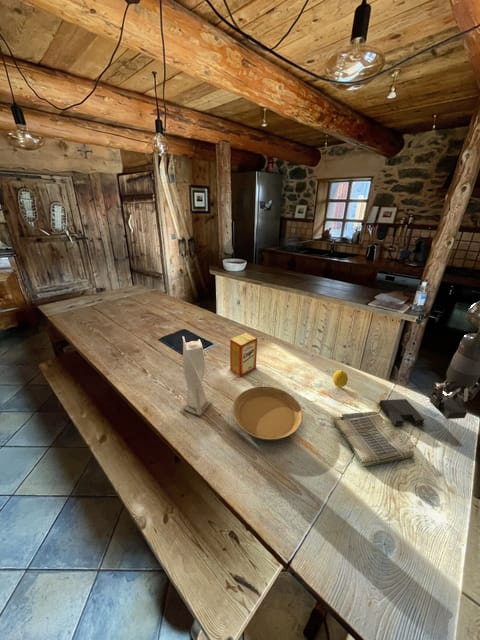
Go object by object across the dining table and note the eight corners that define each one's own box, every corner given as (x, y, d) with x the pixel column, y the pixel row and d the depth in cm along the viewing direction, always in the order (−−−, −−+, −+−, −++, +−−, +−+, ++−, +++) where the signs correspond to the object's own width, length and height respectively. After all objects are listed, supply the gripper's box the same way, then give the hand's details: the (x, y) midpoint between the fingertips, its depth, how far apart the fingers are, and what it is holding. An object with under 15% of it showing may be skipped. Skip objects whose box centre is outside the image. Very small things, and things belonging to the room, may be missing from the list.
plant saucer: (300, 453, 81) (301, 445, 79) (224, 437, 86) (224, 429, 84) (302, 398, 102) (303, 392, 100) (241, 388, 107) (241, 381, 105)
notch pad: (404, 404, 100) (406, 398, 99) (422, 425, 91) (424, 419, 90) (378, 405, 99) (380, 400, 98) (394, 426, 90) (396, 421, 89)
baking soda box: (240, 376, 113) (240, 344, 106) (230, 369, 118) (230, 338, 111) (255, 368, 119) (257, 337, 112) (246, 361, 123) (246, 331, 116)
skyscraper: (180, 408, 97) (173, 342, 84) (193, 394, 103) (188, 331, 91) (200, 416, 93) (195, 348, 81) (212, 401, 100) (209, 336, 88)
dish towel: (415, 458, 80) (418, 451, 78) (362, 469, 76) (364, 461, 75) (375, 412, 96) (377, 406, 95) (330, 419, 93) (331, 413, 91)
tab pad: (440, 395, 95) (442, 390, 94) (464, 418, 85) (467, 412, 84) (424, 396, 94) (426, 390, 93) (446, 419, 85) (449, 413, 84)
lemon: (346, 385, 109) (350, 369, 106) (344, 393, 105) (347, 376, 102) (333, 380, 112) (336, 365, 108) (329, 388, 108) (333, 372, 104)
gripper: (453, 375, 77) (434, 417, 85) (499, 373, 78) (477, 415, 85) (434, 360, 84) (418, 401, 91) (477, 359, 85) (458, 399, 92)
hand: (447, 408), depth 88 cm, fingers closed on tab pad, 6 cm apart
